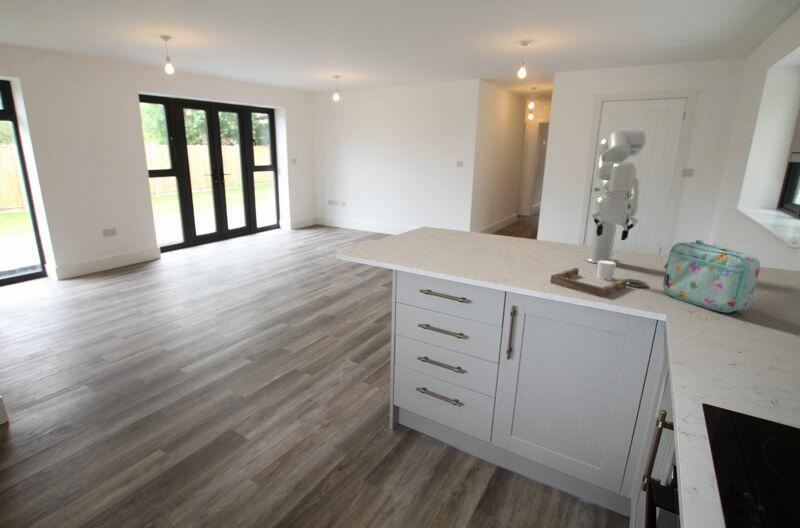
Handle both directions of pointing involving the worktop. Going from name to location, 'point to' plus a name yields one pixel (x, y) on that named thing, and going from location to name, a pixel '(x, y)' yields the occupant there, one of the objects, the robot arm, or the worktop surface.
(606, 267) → the white cup
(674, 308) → the worktop surface
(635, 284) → the dark grey round dish
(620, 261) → the worktop surface
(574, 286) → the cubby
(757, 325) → the worktop surface
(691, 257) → the lunch box
